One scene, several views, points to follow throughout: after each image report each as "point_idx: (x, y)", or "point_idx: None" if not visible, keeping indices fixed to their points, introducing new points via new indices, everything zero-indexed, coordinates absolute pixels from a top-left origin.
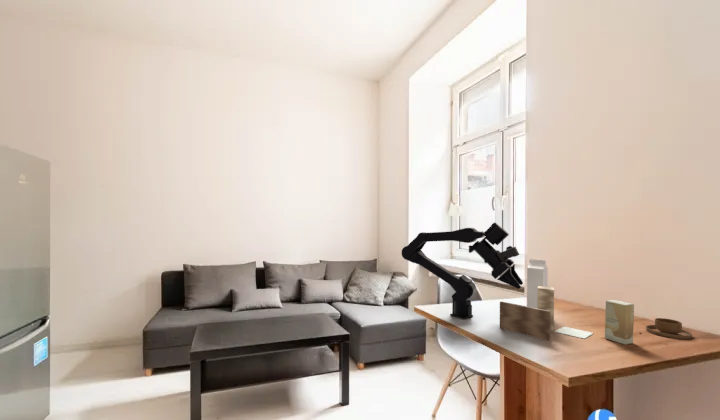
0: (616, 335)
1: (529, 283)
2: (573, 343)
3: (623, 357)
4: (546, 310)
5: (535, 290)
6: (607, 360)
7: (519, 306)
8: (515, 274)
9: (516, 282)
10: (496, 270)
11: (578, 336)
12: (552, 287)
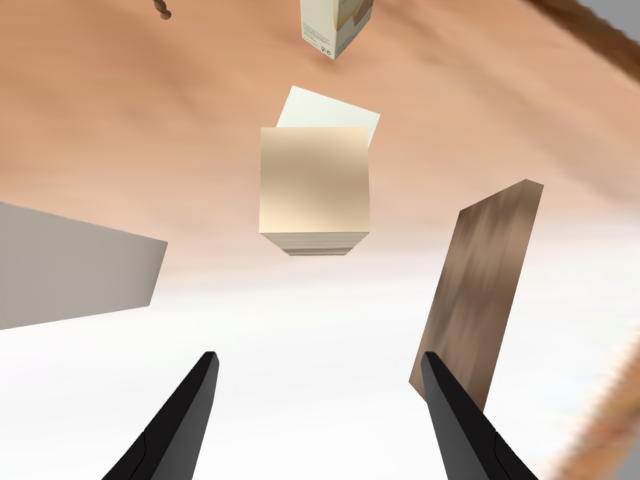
0: (359, 18)
1: (4, 311)
2: (451, 147)
3: (501, 37)
4: (526, 196)
5: (63, 267)
6: (555, 75)
7: (504, 326)
8: (167, 460)
9: (466, 398)
10: None
11: (368, 129)
12: (265, 137)
